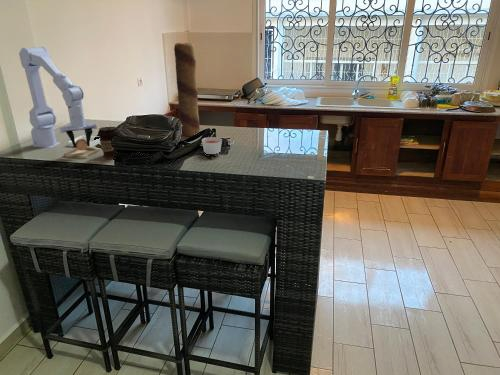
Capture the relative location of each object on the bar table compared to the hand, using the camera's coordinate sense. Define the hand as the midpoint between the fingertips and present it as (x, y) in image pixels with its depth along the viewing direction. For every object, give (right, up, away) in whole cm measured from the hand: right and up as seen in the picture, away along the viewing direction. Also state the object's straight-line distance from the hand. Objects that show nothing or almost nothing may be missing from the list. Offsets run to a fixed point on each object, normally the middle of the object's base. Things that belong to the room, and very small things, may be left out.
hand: (81, 146), depth 172 cm
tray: (0, -3, +2) cm, 4 cm away
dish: (-4, +2, +14) cm, 15 cm away
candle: (+57, -3, +5) cm, 57 cm away
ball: (0, -2, +1) cm, 2 cm away
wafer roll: (+42, +10, +33) cm, 55 cm away
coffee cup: (+14, -5, -1) cm, 15 cm away
